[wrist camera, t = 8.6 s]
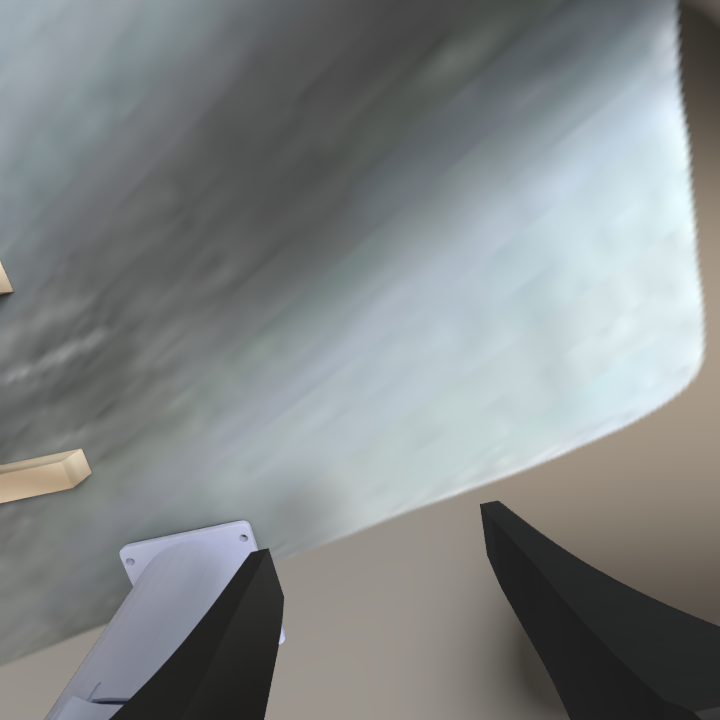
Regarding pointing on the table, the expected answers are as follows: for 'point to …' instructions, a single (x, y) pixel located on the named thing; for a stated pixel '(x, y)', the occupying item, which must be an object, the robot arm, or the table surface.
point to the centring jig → (40, 462)
